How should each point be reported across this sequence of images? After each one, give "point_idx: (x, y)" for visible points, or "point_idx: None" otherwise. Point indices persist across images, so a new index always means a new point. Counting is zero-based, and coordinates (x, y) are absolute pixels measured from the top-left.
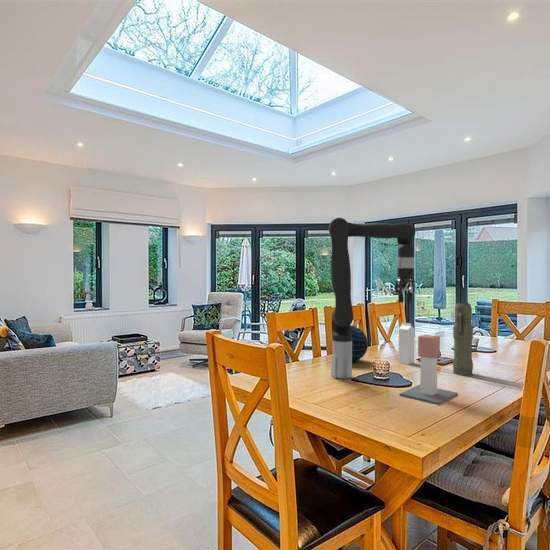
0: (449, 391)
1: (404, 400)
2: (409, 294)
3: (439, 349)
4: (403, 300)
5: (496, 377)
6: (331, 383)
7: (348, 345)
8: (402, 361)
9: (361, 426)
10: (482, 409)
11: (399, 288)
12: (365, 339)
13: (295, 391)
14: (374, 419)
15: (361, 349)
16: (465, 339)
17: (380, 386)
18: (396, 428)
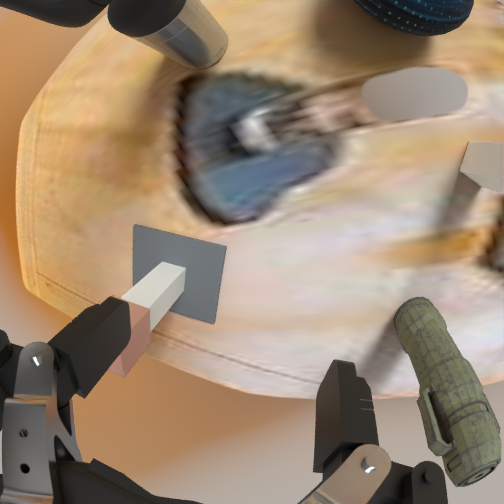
0: (212, 310)
1: (117, 240)
2: (325, 450)
3: (141, 353)
4: (119, 351)
5: (398, 371)
6: (131, 66)
7: (139, 41)
8: (467, 153)
9: (25, 221)
10: (162, 350)
11: (17, 414)
12: (425, 16)
13: (65, 62)
14: (41, 226)
15: (385, 19)
16: (419, 389)
17: (169, 164)
18: (41, 257)
